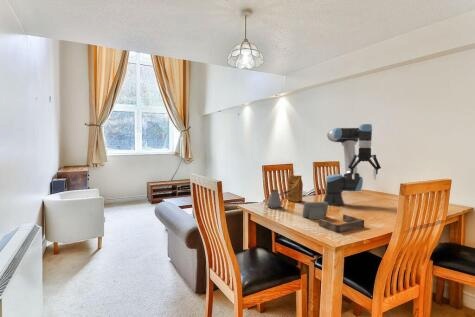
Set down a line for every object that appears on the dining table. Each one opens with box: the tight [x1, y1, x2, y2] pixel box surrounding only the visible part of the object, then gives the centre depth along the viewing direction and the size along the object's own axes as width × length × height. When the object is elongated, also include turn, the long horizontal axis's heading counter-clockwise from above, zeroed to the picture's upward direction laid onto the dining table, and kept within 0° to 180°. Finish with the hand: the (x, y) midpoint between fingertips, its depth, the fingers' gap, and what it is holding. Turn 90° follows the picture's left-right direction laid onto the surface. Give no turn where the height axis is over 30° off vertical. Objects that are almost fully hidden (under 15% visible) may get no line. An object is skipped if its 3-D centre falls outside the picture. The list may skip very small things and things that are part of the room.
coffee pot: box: [266, 189, 293, 209], centre depth 191 cm, size 21×12×15 cm, turn 46°
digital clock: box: [302, 201, 329, 220], centre depth 167 cm, size 16×9×11 cm, turn 83°
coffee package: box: [286, 174, 304, 203], centre depth 216 cm, size 10×12×22 cm
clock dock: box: [318, 214, 365, 234], centre depth 149 cm, size 14×22×4 cm, turn 118°
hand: (363, 179), depth 172 cm, fingers open, 13 cm apart
